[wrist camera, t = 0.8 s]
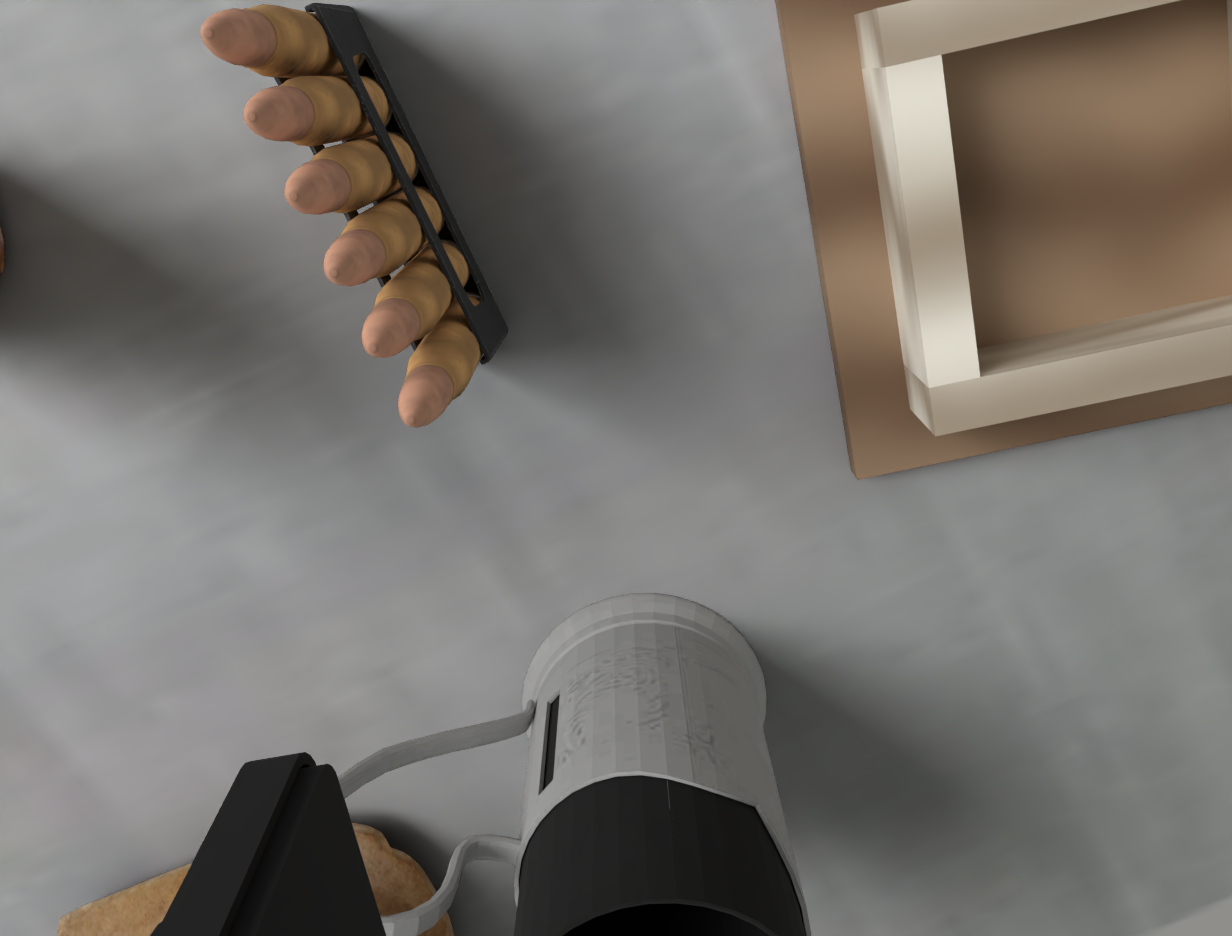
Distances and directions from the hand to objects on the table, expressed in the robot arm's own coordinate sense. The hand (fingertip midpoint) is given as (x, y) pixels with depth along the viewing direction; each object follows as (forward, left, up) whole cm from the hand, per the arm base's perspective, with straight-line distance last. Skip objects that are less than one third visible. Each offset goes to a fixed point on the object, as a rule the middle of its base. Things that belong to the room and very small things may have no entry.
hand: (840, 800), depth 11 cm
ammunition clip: (-5, -7, -28) cm, 29 cm away
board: (-1, +13, -27) cm, 30 cm away
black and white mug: (+13, -6, -28) cm, 31 cm away
